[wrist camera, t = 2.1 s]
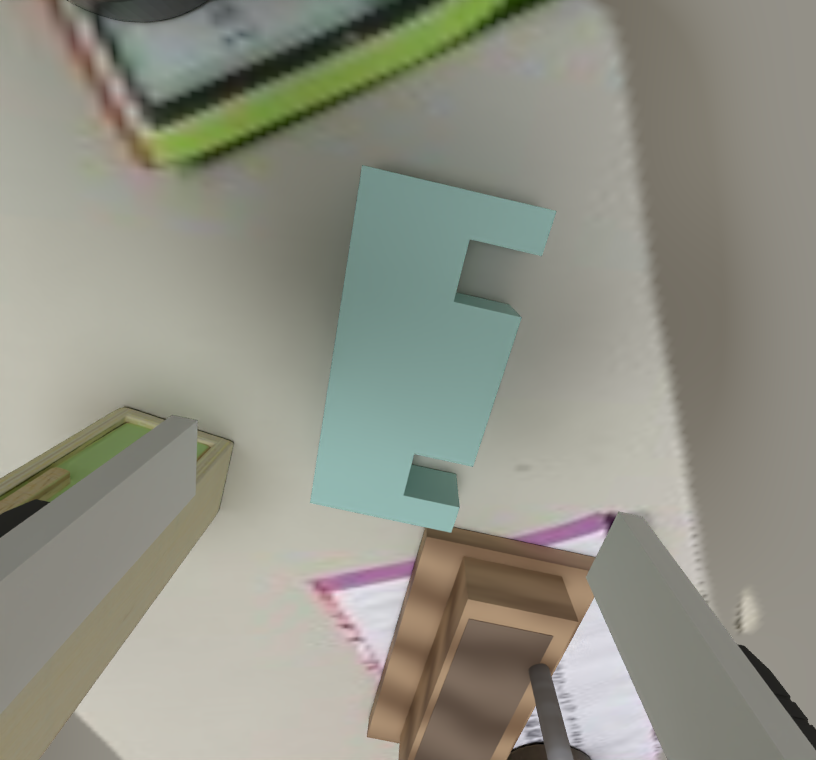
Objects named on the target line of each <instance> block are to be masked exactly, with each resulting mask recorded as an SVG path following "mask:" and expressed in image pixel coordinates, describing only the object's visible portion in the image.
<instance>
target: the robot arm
mask: <svg viewBox="0 0 816 760" xmlns="http://www.w3.org/2000/svg"><path fill="white" fill-rule="evenodd" d="M68 1H70V2H71V3H73V4H75V5H77V6H79V7H81V8H83V9H85V10H88V11H90V12H93V13H95V14H98V15H101V16H105V17H108V18H112V19H117V20H122V21H132V22H149V21H158V20H164V19H168V18H172V17H175V16H178V15H181V14H183V13H186V12H188V11H190V10H192V9H194V8H196V7H198V6H199V5H201V4H202V3H204V2H205V1H207V0H68ZM197 427H198V420H194V419H189V418H184V417H180V416H175V415H172V416H170V417H169V418H167V419H166V420H165V421H163V422H162V423H160V424H159V425H158V426H156V427H155V428H153V429H152V430H151V431H149V432H148V433H146V434H145V435H144V436H142V437H141V438H139V439H138V440H137V441H135V442H134V443H132V444H131V445H130V446H128V447H127V448H125V449H124V450H123V451H121V452H120V453H118V454H117V455H116V456H114V457H113V458H111V459H110V460H109V461H107V462H106V463H104V464H103V465H102V466H100V467H99V468H97V469H96V470H95V471H93V472H92V473H90V474H89V475H88V476H86V477H85V478H83V479H82V480H81V481H79V482H78V483H76V484H75V485H74V486H72V487H71V488H69V489H68V490H67V491H65V492H64V493H62V494H61V495H60V496H58V497H57V498H55V499H54V500H53V501H51V502H47V501H43V500H38V499H35V500H32V501H30V502H27V503H25V504H23V505H20V506H18V507H15V508H13V509H10V510H8V511H6V512H3V513H2V514H0V714H1V713H2V712H3V711H4V710H5V709H6V708H7V706H8V705H9V704H10V703H11V702H12V701H13V700H14V699H15V697H16V696H17V695H18V694H19V693H20V692H21V691H22V690H23V688H24V687H25V686H26V685H27V684H28V683H29V682H30V680H31V679H32V678H33V677H34V676H35V675H36V674H37V673H38V671H39V670H40V669H41V668H42V667H43V666H44V665H45V664H46V662H47V661H48V660H49V659H50V658H51V657H52V656H53V655H54V653H55V652H56V651H57V650H58V649H59V648H60V647H61V646H62V644H63V643H64V642H65V641H66V640H67V639H68V638H69V637H70V635H71V634H72V633H73V632H74V631H75V630H76V629H77V628H78V626H79V625H80V624H81V623H82V622H83V621H84V620H85V619H86V617H87V616H88V615H89V614H90V613H91V612H92V611H93V610H94V608H95V607H96V606H97V605H98V604H99V603H100V602H101V601H102V599H103V598H104V597H105V596H106V595H107V594H108V593H109V592H110V590H111V589H112V588H113V587H114V586H115V585H116V584H117V583H118V581H119V580H120V579H121V578H122V577H123V576H124V575H125V574H126V572H127V571H128V570H129V569H130V568H131V567H132V566H133V565H134V563H135V562H136V561H137V560H138V559H139V558H140V557H141V556H142V554H143V553H144V552H145V551H146V550H147V549H148V548H149V547H150V545H151V544H152V543H153V542H154V541H155V540H156V539H157V538H158V536H159V535H160V534H161V533H162V532H163V531H164V530H165V529H166V527H167V526H168V525H169V524H170V523H171V522H172V521H173V520H174V518H175V517H176V516H177V515H178V514H179V513H180V512H181V511H182V509H183V508H184V507H185V506H186V505H187V504H188V503H189V502H190V500H191V499H192V498H193V497H194V496H195V495H196V462H197ZM586 579H587V581H588V584H589V586H590V588H591V590H592V592H593V595H594V597H595V599H596V601H597V604H598V606H599V608H600V610H601V613H602V615H603V617H604V619H605V622H606V624H607V626H608V628H609V630H610V633H611V635H612V637H613V639H614V642H615V644H616V646H617V648H618V651H619V653H620V655H621V657H622V660H623V662H624V664H625V666H626V668H627V671H628V673H629V675H630V677H631V680H632V682H633V684H634V686H635V689H636V691H637V693H638V695H639V698H640V700H641V702H642V704H643V706H644V709H645V711H646V713H647V715H648V718H649V720H650V722H651V724H652V727H653V729H654V731H655V733H656V736H657V738H658V740H659V742H660V744H661V747H662V749H663V751H664V753H665V756H666V758H667V760H816V729H815V728H814V727H813V725H809V723H808V719H807V717H806V716H805V715H804V714H803V712H802V711H801V710H800V708H799V707H798V706H797V704H796V703H795V702H792V701H791V700H790V695H789V694H788V693H787V692H786V690H785V689H784V688H783V686H782V685H781V684H780V682H779V681H778V680H777V679H776V677H775V676H774V675H773V673H772V672H771V671H770V670H769V669H768V668H767V667H766V666H765V665H764V664H763V663H762V662H761V661H760V660H759V659H757V657H756V656H754V655H753V654H752V653H751V652H750V651H749V650H748V649H747V648H746V647H745V646H742V645H738V644H737V643H736V642H735V641H734V639H733V638H732V637H731V635H730V634H729V633H728V631H727V630H726V629H725V627H724V626H723V625H722V623H721V622H720V621H719V619H718V618H717V616H716V615H715V614H714V612H713V611H712V610H711V608H710V607H709V606H708V604H707V603H706V602H705V600H704V599H703V598H702V596H701V595H700V594H699V592H698V591H697V589H696V588H695V587H694V585H693V584H692V583H691V581H690V580H689V579H688V577H687V576H686V575H685V573H684V572H683V571H682V569H681V568H680V567H679V565H678V564H677V562H676V561H675V560H674V558H673V557H672V556H671V554H670V553H669V552H668V550H667V549H666V548H665V546H664V545H663V544H662V542H661V541H660V540H659V538H658V537H657V535H656V534H655V533H654V531H653V530H652V529H651V527H650V526H649V525H648V523H647V522H646V521H645V519H644V518H643V517H641V516H637V515H632V514H628V513H623V512H618V514H617V516H616V518H615V520H614V522H613V524H612V526H611V528H610V530H609V532H608V534H607V536H606V538H605V540H604V542H603V544H602V546H601V548H600V550H599V552H598V554H597V556H596V558H595V560H594V562H593V564H592V566H591V568H590V570H589V572H588V574H587V576H586Z"/></svg>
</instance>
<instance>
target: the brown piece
mask: <svg viewBox="0 0 816 760" xmlns="http://www.w3.org/2000/svg"><path fill="white" fill-rule="evenodd" d="M595 558H596V557H591V556H586V555H582V554H577V553H572V552H567V551H563V550H558V549H553V548H549V547H544V546H539V545H534V544H530V543H525V542H520V541H515V540H511V539H506V538H501V537H497V536H492V535H487V534H482V533H478V532H473V531H468V530H463V529H459V528H454V527H453V529H452V532H451V533H450V532H445V531H441V530H436V529H431V528H426V527H425V531H424V534H423V537H422V541H421V544H420V548H419V551H418V554H417V558H416V561H415V564H414V568H413V571H412V575H411V578H410V581H409V585H408V588H407V592H406V595H405V598H404V602H403V605H402V609H401V612H400V615H399V619H398V622H397V626H396V629H395V632H394V636H393V639H392V642H391V646H390V649H389V653H388V656H387V659H386V663H385V666H384V670H383V673H382V676H381V680H380V683H379V687H378V690H377V693H376V697H375V700H374V704H373V707H372V710H371V714H370V717H369V724H368V732H367V737H370V738H375V739H380V740H385V741H390V742H395V743H400V746H399V760H507V758H508V756H509V754H510V753H511V751H512V749H513V747H514V745H515V743H516V741H517V740H518V738H519V736H520V734H521V732H522V730H523V728H524V727H525V725H526V723H527V721H528V719H529V717H530V716H531V714H532V712H533V710H534V708H535V706H536V708H537V713H538V717H539V722H540V727H541V731H542V736H543V740H544V745H545V749H546V754H547V758H548V760H574V759H573V755H572V752H571V748H570V744H569V740H568V737H567V733H566V729H565V726H564V722H563V718H562V714H561V711H560V707H559V703H558V699H557V696H556V692H555V688H554V684H553V681H552V675H553V673H554V671H555V669H556V667H557V665H558V664H559V662H560V660H561V658H562V656H563V654H564V652H565V651H566V649H567V647H568V645H569V643H570V641H571V640H572V638H573V636H574V634H575V632H576V630H577V628H578V627H579V625H580V623H581V621H582V619H583V617H584V615H585V614H586V612H587V610H588V608H589V606H590V604H591V602H592V601H593V599H594V595H593V592H592V590H591V588H590V586H589V584H588V581H587V579H586V576H587V574H588V572H589V570H590V568H591V566H592V564H593V562H594V560H595Z"/></svg>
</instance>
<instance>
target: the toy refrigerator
mask: <svg viewBox="0 0 816 760" xmlns="http://www.w3.org/2000/svg"><path fill="white" fill-rule="evenodd" d="M163 421H165V420H163V419H160V418H157V417H154V416H151V415H148V414H145V413H142V412H139V411H136V410H133V409H130V408H126V407H124V408H119V409H117V410H115V411H113V412H112V413H110V414H108V415H107V416H105V417H103V418H102V419H100V420H98V421H97V422H95V423H93V424H91V425H90V426H88V427H87V428H85V429H83V430H82V431H80V432H78V433H77V434H75V435H73V436H71V437H70V438H68V439H66V440H65V441H63V442H61V443H60V444H58V445H56V446H54V447H53V448H51V449H50V450H48V451H46V452H45V453H43V454H41V455H39V456H38V457H36V458H34V459H33V460H31V461H29V462H28V463H26V464H24V465H23V466H21V467H19V468H18V469H16V470H14V471H12V472H11V473H9V474H7V475H6V476H4V477H2V478H1V479H0V514H2V513H3V512H6V511H8V510H10V509H13V508H15V507H18V506H20V505H23V504H25V503H27V502H30V501H32V500H35V499H38V500H43V501H47V502H51V501H53V500H54V499H55V498H57V497H58V496H60V495H61V494H62V493H64V492H65V491H67V490H68V489H69V488H71V487H72V486H74V485H75V484H76V483H78V482H79V481H81V480H82V479H83V478H85V477H86V476H88V475H89V474H90V473H92V472H93V471H95V470H96V469H97V468H99V467H100V466H102V465H103V464H104V463H106V462H107V461H109V460H110V459H111V458H113V457H114V456H116V455H117V454H118V453H120V452H121V451H123V450H124V449H125V448H127V447H128V446H130V445H131V444H132V443H134V442H135V441H137V440H138V439H139V438H141V437H142V436H144V435H145V434H146V433H148V432H149V431H151V430H152V429H153V428H155V427H156V426H158V425H159V424H160V423H162V422H163ZM232 449H233V443H232V442H231V441H229V440H226V439H223V438H220V437H217V436H214V435H211V434H208V433H205V432H201V431H198V430H197V462H196V495H195V496H194V497H193V498H192V499H191V500H190V502H189V503H188V504H187V505H186V506H185V507H184V508H183V509H182V511H181V512H180V513H179V514H178V515H177V516H176V517H175V518H174V520H173V521H172V522H171V523H170V524H169V525H168V526H167V527H166V529H165V530H164V531H163V532H162V533H161V534H160V535H159V536H158V538H157V539H156V540H155V541H154V542H153V543H152V544H151V545H150V547H149V548H148V549H147V550H146V551H145V552H144V553H143V554H142V556H141V557H140V558H139V559H138V560H137V561H136V562H135V563H134V565H133V566H132V567H131V568H130V569H129V570H128V571H127V572H126V574H125V575H124V576H123V577H122V578H121V579H120V580H119V581H118V583H117V584H116V585H115V586H114V587H113V588H112V589H111V590H110V592H109V593H108V594H107V595H106V596H105V597H104V598H103V599H102V601H101V602H100V603H99V604H98V605H97V606H96V607H95V608H94V610H93V611H92V612H91V613H90V614H89V615H88V616H87V617H86V619H85V620H84V621H83V622H82V623H81V624H80V625H79V626H78V628H77V629H76V630H75V631H74V632H73V633H72V634H71V635H70V637H69V638H68V639H67V640H66V641H65V642H64V643H63V644H62V646H61V647H60V648H59V649H58V650H57V651H56V652H55V653H54V655H53V656H52V657H51V658H50V659H49V660H48V661H47V662H46V664H45V665H44V666H43V667H42V668H41V669H40V670H39V671H38V673H37V674H36V675H35V676H34V677H33V678H32V679H31V680H30V682H29V683H28V684H27V685H26V686H25V687H24V688H23V690H22V691H21V692H20V693H19V694H18V695H17V696H16V697H15V699H14V700H13V701H12V702H11V703H10V704H9V705H8V706H7V708H6V709H5V710H4V711H3V712H2V713H1V714H0V760H39V759H40V758H41V756H42V755H43V754H44V752H45V751H46V750H47V748H48V747H49V745H50V744H51V742H52V741H53V740H54V738H55V737H56V735H57V734H58V733H59V732H60V730H61V729H62V727H63V726H64V724H65V723H66V722H67V720H68V719H69V718H70V716H71V715H72V714H73V712H74V711H75V709H76V708H77V707H78V705H79V704H80V702H81V701H82V700H83V698H84V697H85V696H86V694H87V693H88V691H89V690H90V689H91V687H92V686H93V684H94V683H95V682H96V680H97V679H98V678H99V676H100V675H101V673H102V672H103V671H104V669H105V668H106V667H107V665H108V664H109V662H110V661H111V660H112V658H113V657H114V656H115V654H116V653H117V651H118V650H119V649H120V647H121V646H122V645H123V643H124V642H125V640H126V639H127V638H128V636H129V635H130V634H131V632H132V631H133V630H134V628H135V627H136V625H137V624H138V623H139V621H140V620H141V619H142V617H143V616H144V614H145V613H146V612H147V610H148V609H149V607H150V606H151V605H152V603H153V602H154V600H155V599H156V598H157V596H158V595H159V594H160V592H161V591H162V590H163V588H164V587H165V585H166V584H167V583H168V581H169V580H170V578H171V577H172V576H173V574H174V573H175V572H176V570H177V569H178V567H179V566H180V565H181V563H182V562H183V560H184V559H185V558H186V556H187V555H188V554H189V552H190V551H191V549H192V548H193V547H194V545H195V544H196V542H197V541H198V540H199V538H200V537H201V536H202V534H203V533H204V531H205V530H206V529H207V527H208V526H209V525H210V523H211V522H212V520H213V519H214V518H215V516H216V514H217V513H218V511H219V507H220V503H221V498H222V494H223V490H224V485H225V481H226V476H227V472H228V467H229V462H230V458H231V453H232Z"/></svg>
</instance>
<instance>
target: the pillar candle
mask: <svg viewBox="0 0 816 760" xmlns="http://www.w3.org/2000/svg"><path fill="white" fill-rule="evenodd" d="M571 752H572V755H573V759H574V760H591V759H590V758H589V757H588V756H587V755H586V754H584V753H582V752H581V751H578V750H575V749H573V748H571ZM507 760H548V758H547V754H546V749H545V745H543V744H538V745H531V746H525V747H523V748H518V749H517V750H515V751H513V752H511V753H510V754H509V756H508V758H507Z"/></svg>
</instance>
